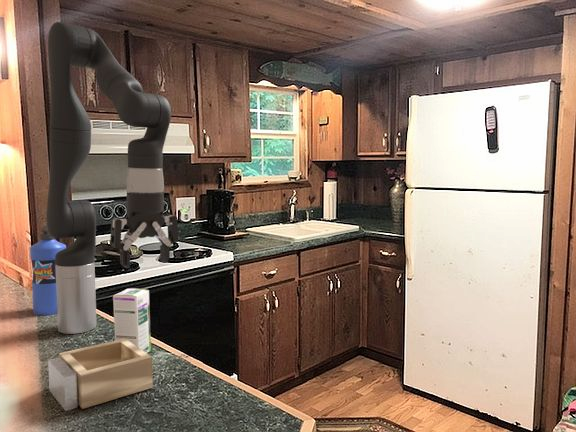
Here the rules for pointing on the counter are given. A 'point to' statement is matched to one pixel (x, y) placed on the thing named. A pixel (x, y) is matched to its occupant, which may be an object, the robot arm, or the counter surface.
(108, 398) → the open wooden box
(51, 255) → the water bottle
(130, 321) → the syrup box
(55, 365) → the backstop wall
